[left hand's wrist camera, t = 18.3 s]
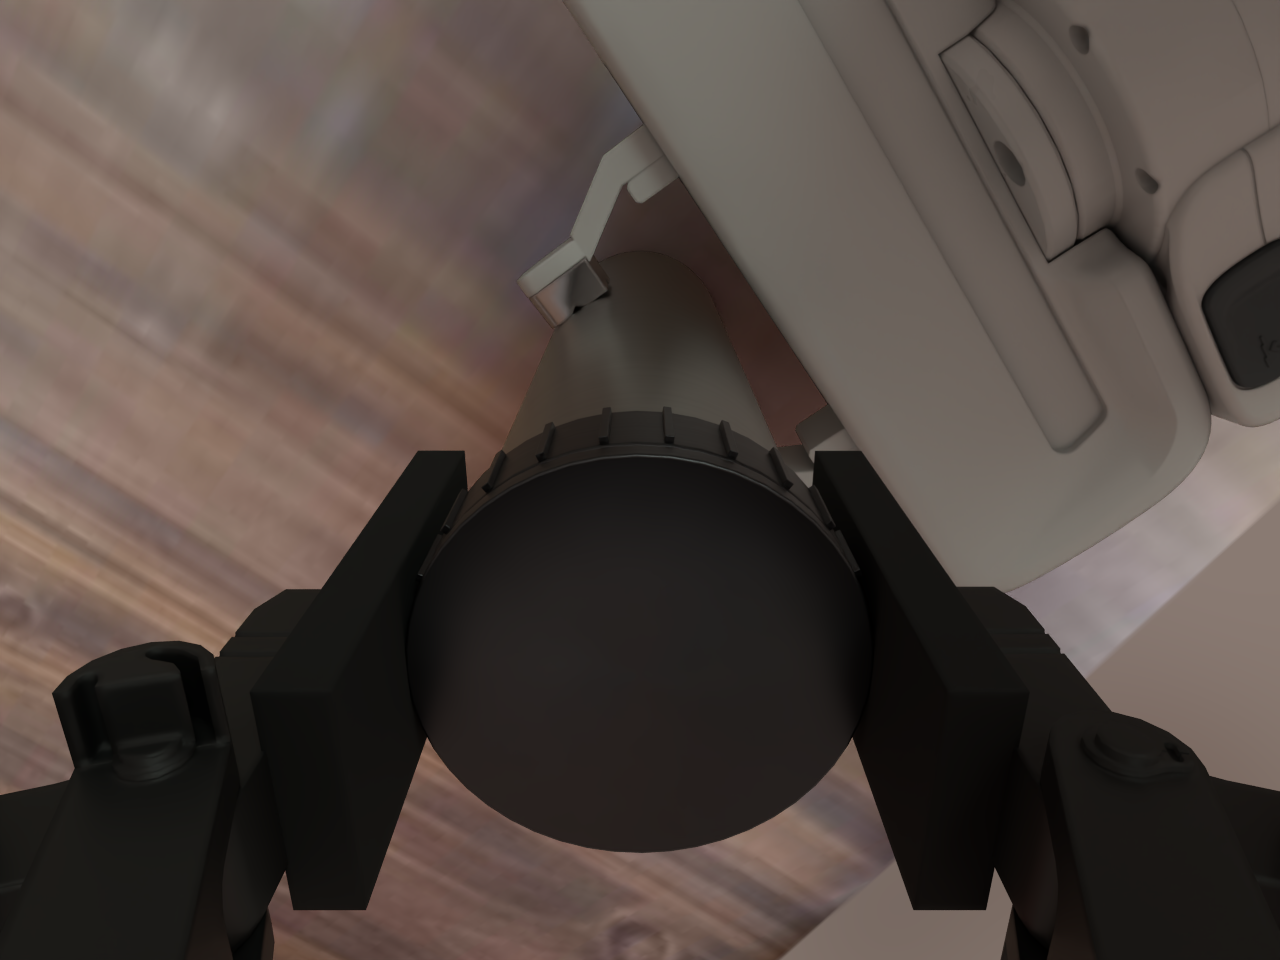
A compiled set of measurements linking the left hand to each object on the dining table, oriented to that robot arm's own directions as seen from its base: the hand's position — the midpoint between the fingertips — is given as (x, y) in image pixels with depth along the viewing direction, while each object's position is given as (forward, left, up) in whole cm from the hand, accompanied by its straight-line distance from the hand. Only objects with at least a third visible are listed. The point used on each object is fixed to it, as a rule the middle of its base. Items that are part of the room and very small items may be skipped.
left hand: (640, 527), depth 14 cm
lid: (0, 0, +4) cm, 4 cm away
